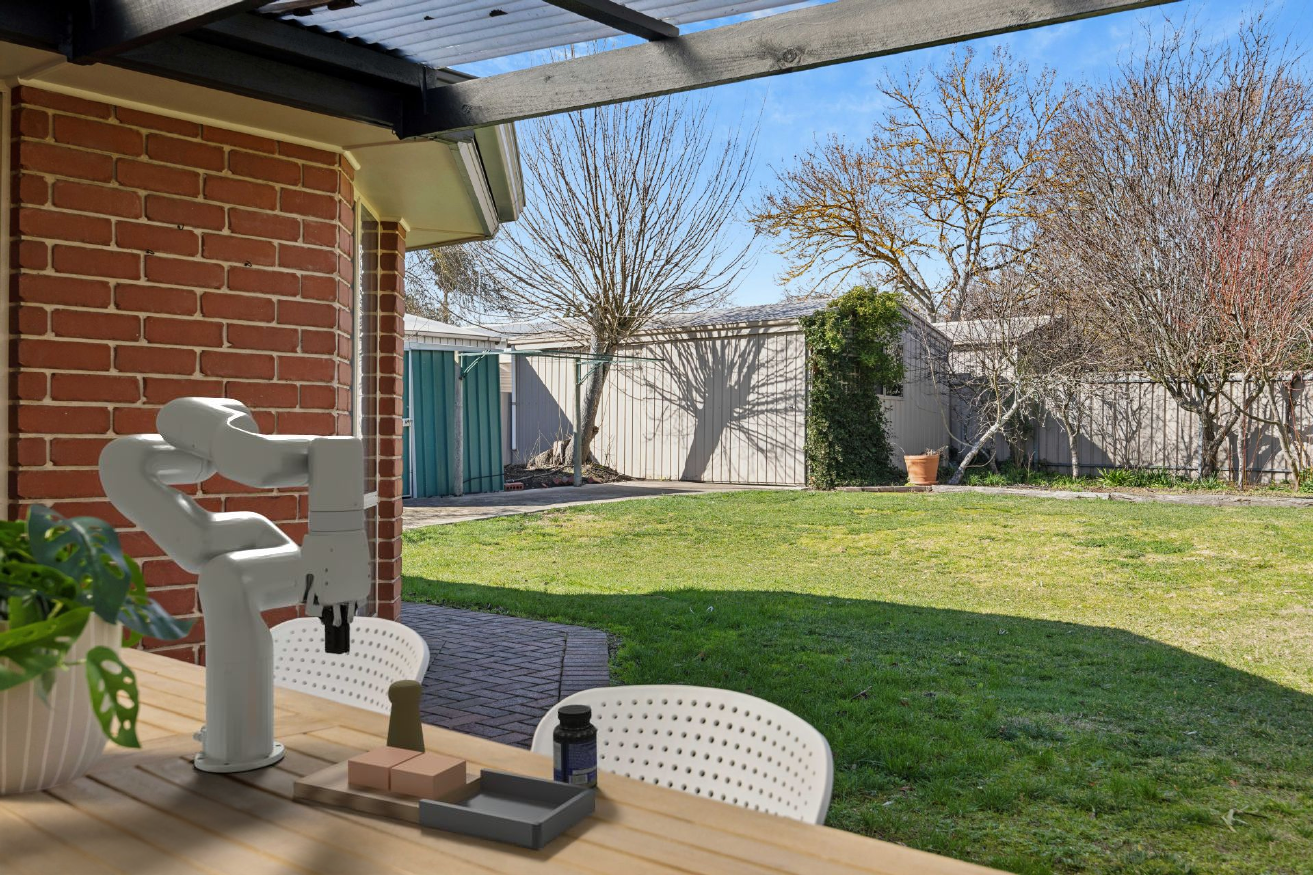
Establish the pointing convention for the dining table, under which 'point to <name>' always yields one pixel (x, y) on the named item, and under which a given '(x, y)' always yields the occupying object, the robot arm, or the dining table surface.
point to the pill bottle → (575, 747)
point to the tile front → (428, 775)
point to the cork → (405, 716)
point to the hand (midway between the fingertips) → (337, 652)
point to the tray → (513, 809)
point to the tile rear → (377, 766)
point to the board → (371, 793)
